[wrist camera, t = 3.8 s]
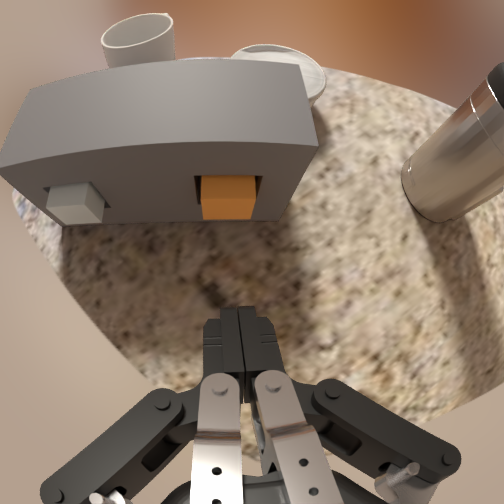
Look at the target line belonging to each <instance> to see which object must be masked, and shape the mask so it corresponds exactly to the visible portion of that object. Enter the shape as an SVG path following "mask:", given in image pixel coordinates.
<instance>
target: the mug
mask: <svg viewBox="0 0 504 504" xmlns="http://www.w3.org/2000/svg"><path fill="white" fill-rule="evenodd" d="M101 44H102V46H103V50H104V54H105V57H106V60H107V63H108V66H109V69H110V68H116V67H122V66H129V65H136V64H143V63H152V62H162V61H175V44H174V30H173V20H172V18H171V17H169V14H167V13H163V14H158V13H150V14H142V15H137V16H134V17H131V18H128V19H125V20H123V21H121V22H119V23H117V24H115V25H113V26H112V27H111V28H109V29H108V30H107V31H106V32H105V33H104V34H103V36H102V38H101Z"/></svg>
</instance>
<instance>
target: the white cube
mask: <svg viewBox="0 0 504 504" xmlns="http://www.w3.org/2000/svg"><path fill="white" fill-rule="evenodd" d="M104 204H105V199H104V198H103V196H102V195H101V194H100V192H99V191H98V190H97V188H96V187H95V186H94V184H93V183H92V182H84V183H75V184H66V185H58V186H51V187H50V191H49V196H48V200H47V204H46V209H48V210H49V211H50V212H51V213H52V214H54V215H55V216H56V217H57V218H58V219H60V220H61V221H62V222H63V223H65V224H66V225H70V224H87V223H102V218H103V211H104Z"/></svg>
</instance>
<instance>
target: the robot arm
mask: <svg viewBox="0 0 504 504" xmlns="http://www.w3.org/2000/svg"><path fill="white" fill-rule="evenodd" d="M401 178H402V184H403V187H404V190H405V192H406V194H407V197H408V199H409V200H410V202H411V203H412V205H413V206H414V207H415V208H416V210H417V211H418V212H419V213H420V214H422V215H423V216H424V217H425V218H427V219H429V220H431V221H433V222H439V223H440V222H445V221H446V220H448V219H452V220H456V219H457V218H459V217H461V216H463V215H464V214H466V213H468V212H470V211H471V210H473V209H475V208H476V207H478V206H480V205H482V204H483V203H485V202H487V201H488V200H490V199H491V198H493V197H495V196H496V195H498V194H500V193H501V192H502V191H503V188H504V62H502V63H500V64H498V65H497V66H496V67H495V68H494V69H493V70H492V71H491V72H490V73H489V75H488V76H487V77H486V78H485V79H484V80H483V81H482V83H481V84H480V85H479V86H478V87H477V88H476V89H475V90H474V92H473V93H472V94H471V95H470V96H469V97H468V98H467V99H466V100H465V101H464V102H463V103H462V104H461V106H460V107H459V108H458V109H457V110H456V111H455V112H454V113H453V114H452V115H451V116H450V117H449V118H448V119H447V120H446V121H445V122H444V123H443V124H442V125H441V126H440V128H439V129H438V130H437V131H436V132H435V133H434V134H433V135H432V136H431V137H430V138H429V139H428V140H427V141H426V142H425V143H424V144H423V145H422V146H421V147H420V148H419V149H418V150H417V151H416V152H415V153H414V154H413V155H412V156H411V157H410V158H409V159H408V160H407V161H406V162H405V163H404V165H403V167H402V173H401ZM203 338H204V339H203V378H202V380H201V382H200V383H199V384H198V385H197V386H196V387H195V388H193V389H191V390H188V391H185V392H181V393H178V394H177V393H176V392H174V391H172V390H170V389H166V388H160V389H156V390H153V391H151V392H150V393H148V394H147V395H146V396H145V397H144V398H143V399H142V400H141V401H139V402H138V403H137V404H136V405H135V406H134V407H133V408H132V409H130V410H129V411H128V412H127V413H126V414H125V415H123V416H122V417H121V418H120V419H119V420H118V421H117V422H115V423H114V424H113V425H112V426H111V427H110V428H108V429H107V430H106V431H105V432H104V433H103V434H101V435H100V436H99V437H98V438H97V439H95V440H94V441H93V442H92V443H91V444H90V445H88V446H87V447H86V448H85V449H83V451H81V452H80V453H79V454H77V455H76V456H75V457H74V458H73V459H71V460H70V461H69V462H68V463H67V464H65V465H64V466H63V467H61V468H60V469H59V470H58V471H56V472H55V473H54V474H53V475H52V476H50V477H49V478H48V479H46V480H45V481H44V482H43V483H42V485H41V488H40V496H41V499H42V502H43V503H44V504H133V503H132V502H131V501H130V500H131V499H132V498H133V497H134V496H135V495H136V494H137V493H139V492H140V491H141V490H142V489H143V488H144V487H145V486H146V485H147V484H148V483H149V482H150V481H151V480H152V479H153V478H154V477H155V476H156V475H157V474H158V473H159V472H161V471H162V470H163V469H164V467H166V465H168V463H169V462H170V461H171V460H172V459H173V458H174V457H175V456H176V455H177V454H178V453H179V452H180V451H181V450H182V449H183V448H184V447H185V446H186V445H187V444H188V443H189V441H191V440H194V447H193V461H192V479H191V481H188V482H186V483H184V484H182V485H181V486H179V487H177V488H176V489H175V490H174V491H172V492H171V493H170V494H169V495H168V496H167V497H166V499H165V500H164V501H163V502H162V503H161V504H428V503H429V501H430V499H431V498H432V496H433V494H434V492H435V490H436V488H437V486H438V484H439V483H440V482H441V481H442V480H444V479H445V478H447V477H448V476H450V475H452V474H453V473H455V472H456V471H457V470H458V468H459V466H460V464H461V454H460V452H459V450H458V449H457V448H456V447H455V446H453V445H451V444H450V443H448V442H446V441H444V440H442V439H440V438H438V437H436V436H434V435H432V434H430V433H428V432H426V431H425V430H423V429H421V428H419V427H417V426H416V425H414V424H412V423H410V422H408V421H407V420H405V419H403V418H401V417H400V416H398V415H396V414H394V413H393V412H391V411H389V410H387V409H386V408H384V407H382V406H381V405H379V404H377V403H376V402H374V401H372V400H370V399H369V398H367V397H366V396H364V395H362V394H361V393H359V392H357V391H356V390H354V389H352V388H351V387H349V386H348V385H346V384H344V383H343V382H341V381H339V380H336V379H325V380H322V381H320V382H319V383H318V384H317V385H310V384H303V383H299V382H296V381H294V380H293V379H291V378H290V377H289V376H288V375H287V374H286V372H285V369H284V366H283V362H282V358H281V354H280V350H279V346H278V343H277V338H276V336H275V330H274V326H273V324H272V323H271V322H270V320H269V319H268V318H267V317H256V312H255V307H254V306H238V307H220V319H208V321H207V322H206V324H205V326H204V332H203ZM243 395H244V403H250V404H251V411H252V413H251V421H252V425H253V429H254V433H255V437H256V441H257V445H258V449H259V453H260V459H261V468H262V473H263V476H260V477H256V476H247V475H242V460H241V459H242V458H241V435H240V407H241V404H243ZM322 447H324V448H325V449H327V450H328V451H330V452H331V453H333V454H334V455H336V456H338V457H339V458H341V459H342V460H344V461H345V462H347V463H349V464H350V465H352V466H354V467H355V468H357V469H358V470H360V471H362V472H363V473H365V474H367V475H368V476H370V477H372V478H374V479H375V483H374V485H375V490H376V492H377V493H378V494H379V495H380V496H381V497H383V498H384V500H385V501H384V500H382V499H380V498H379V497H377V496H375V495H374V494H372V493H371V492H369V491H367V490H366V489H364V488H363V487H361V486H359V485H358V484H356V483H355V482H353V481H352V480H350V479H349V478H347V477H346V476H344V475H342V474H340V473H338V472H336V471H333V470H331V469H330V466H329V463H328V461H327V458H326V455H325V453H324V450H323V448H322Z"/></svg>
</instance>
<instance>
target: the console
mask: <svg viewBox="0 0 504 504" xmlns="http://www.w3.org/2000/svg"><path fill="white" fill-rule="evenodd" d="M318 147H319V145H318V140H317V135H316V131H315V126H314V122H313V117H312V113H311V109H310V104H309V100H308V96H307V92H306V88H305V85H304V81H303V77H302V73H301V70H300V66H299V65H298V64H290V63H282V62H271V61H258V60H239V59H194V60H175V61H162V62H152V63H143V64H136V65H129V66H122V67H116V68H110V69H105V70H100V71H95V72H90V73H86V74H82V75H78V76H74V77H70V78H66V79H63V80H59V81H55V82H52V83H49V84H46V85H42V86H39V87H36V88H33V89H31V90H30V91H29V93H28V95H27V96H26V98H25V100H24V102H23V104H22V106H21V108H20V110H19V112H18V114H17V116H16V118H15V120H14V122H13V124H12V126H11V128H10V131H9V133H8V135H7V137H6V140H5V143H4V144H3V147H2V150H1V152H0V175H1V176H2V177H3V178H4V179H5V180H6V181H7V182H8V183H9V184H11V185H12V186H13V187H14V188H15V189H16V190H17V191H19V192H20V193H21V194H22V195H23V196H24V197H26V198H27V199H28V200H29V201H30V202H32V203H33V204H34V205H35V206H36V207H38V208H39V209H40V210H41V211H43V212H44V213H45V214H46V215H48V216H49V217H50V218H51V219H53V220H54V221H55V222H56V223H58V224H59V225H60V226H62V227H66V226H84V225H104V224H128V223H158V222H202V221H279V219H280V218H281V216H282V214H283V212H284V210H285V208H286V206H287V205H288V203H289V201H290V199H291V197H292V195H293V193H294V192H295V190H296V188H297V186H298V184H299V182H300V180H301V178H302V177H303V175H304V173H305V171H306V169H307V167H308V165H309V164H310V162H311V160H312V158H313V156H314V154H315V152H316V150H317V148H318ZM202 175H255V189H256V201H255V204H254V208H253V211H252V215H251V218H250V219H214V220H203V213H202V204H201V179H202ZM84 182H92V183H93V184H94V186H95V187H96V188H97V190H98V191H99V192H100V194H101V195H102V196H103V198H104V199H105V204H104V211H103V218H102V223H87V224H70V225H66V224H65V223H63V222H62V221H61V220H60V219H58V218H57V217H56V216H55V215H54V214H52V213H51V212H50V211H49V210H48V209H46V204H47V200H48V196H49V191H50V187H51V186H58V185H66V184H75V183H84Z"/></svg>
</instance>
